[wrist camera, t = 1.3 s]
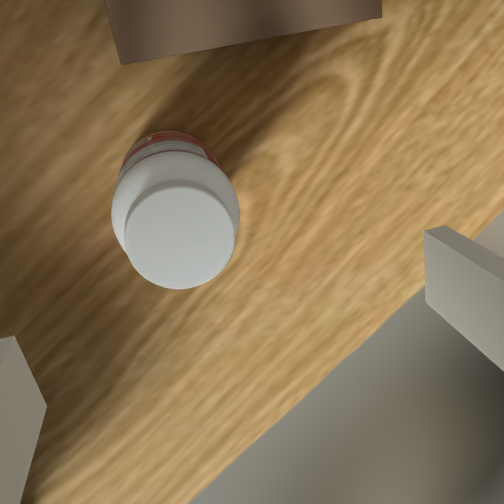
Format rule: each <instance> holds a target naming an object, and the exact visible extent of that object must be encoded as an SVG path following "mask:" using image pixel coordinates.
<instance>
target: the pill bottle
mask: <svg viewBox="0 0 504 504" xmlns="http://www.w3.org/2000/svg"><path fill="white" fill-rule="evenodd" d="M111 218H112V225H113V229H114V232H115V235H116V237H117V239H118V241H119V243H120V245H121V247H122V248H123V250H124V251H125V252H126V253H127V255H128V257H129V260H130V262H131V263H132V265H133V266H134V268H135V269H136V270H137V271H138V272H139V274H141V275H142V276H143V277H144V278H146V279H147V280H149V281H150V282H152V283H154V284H156V285H159V286H162V287H165V288H171V289H187V288H192V287H196V286H199V285H202V284H204V283H206V282H208V281H209V280H211V279H212V278H214V277H215V276H216V275H217V274H218V273H220V272H221V270H222V269H223V268H224V267H225V266H226V264H227V262H228V261H229V259H230V257H231V255H232V252H233V249H234V244H235V236H236V234H237V230H238V227H239V219H240V210H239V203H238V199H237V196H236V193H235V190H234V188H233V186H232V184H231V182H230V180H229V179H228V177H227V176H226V174H225V172H224V171H223V169H222V168H221V166H220V165H219V163H218V162H217V160H216V159H215V157H214V156H213V154H212V153H211V151H210V150H209V149H208V148H207V147H206V146H205V145H204V144H203V143H202V142H201V141H199V140H198V139H196V138H195V137H193V136H191V135H188V134H186V133H182V132H178V131H161V132H156V133H153V134H150V135H148V136H146V137H144V138H142V139H141V140H139V141H138V142H137V143H136V144H135V145H134V146H133V147H132V148H131V149H130V150H129V152H128V153H127V155H126V156H125V158H124V161H123V163H122V166H121V169H120V173H119V177H118V180H117V184H116V188H115V192H114V196H113V202H112V213H111Z"/></svg>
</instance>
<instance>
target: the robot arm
mask: <svg viewBox="0 0 504 504" xmlns="http://www.w3.org/2000/svg"><path fill="white" fill-rule="evenodd" d="M424 255H425V292H426V303H427V304H428V305H429V306H430V307H432V308H433V309H434V310H435V311H436V312H437V313H438V314H440V315H441V316H442V317H443V318H444V319H445V320H446V321H447V322H449V323H450V324H451V325H452V326H453V327H454V328H455V329H457V330H458V331H459V332H460V333H461V334H462V335H463V336H465V338H467V339H468V340H469V341H470V342H471V343H472V344H473V345H475V346H476V347H477V348H478V349H479V350H480V351H481V352H482V353H484V354H485V355H486V356H487V357H488V358H489V359H490V360H491V361H493V362H494V363H495V364H496V365H497V366H498V367H499V368H501V369H502V370H503V371H504V258H502V257H500V256H498V255H496V254H495V253H493V252H491V251H490V250H488V249H486V248H484V247H482V246H481V245H479V244H477V243H475V242H474V241H472V240H470V239H468V238H467V237H465V236H463V235H461V234H460V233H458V232H456V231H454V230H453V229H451V228H449V227H447V226H446V225H445V226H441V227H437V228H433V229H429V230H425V231H424ZM46 409H47V405H46V403H45V401H44V398H43V396H42V394H41V392H40V390H39V388H38V385H37V383H36V381H35V379H34V377H33V375H32V373H31V370H30V368H29V366H28V364H27V362H26V360H25V357H24V355H23V353H22V351H21V349H20V347H19V344H18V342H17V340H16V338H15V336H10V337H6V338H2V339H0V504H20V501H21V498H22V494H23V491H24V487H25V484H26V480H27V476H28V473H29V469H30V466H31V462H32V459H33V455H34V451H35V448H36V444H37V441H38V437H39V434H40V430H41V427H42V423H43V419H44V416H45V412H46Z"/></svg>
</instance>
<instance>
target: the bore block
mask: <svg viewBox="0 0 504 504" xmlns="http://www.w3.org/2000/svg"><path fill="white" fill-rule="evenodd" d="M104 2H105V5H106V9H107V13H108V17H109V21H110V25H111V28H112V32H113V36H114V40H115V44H116V48H117V51H118V55H119V59H120V63H121V65H125V64H131V63H136V62H142V61H147V60H153V59H158V58H164V57H169V56H174V55H180V54H185V53H191V52H196V51H202V50H207V49H213V48H218V47H224V46H229V45H235V44H240V43H245V42H251V41H256V40H262V39H267V38H273V37H278V36H284V35H289V34H295V33H300V32H306V31H311V30H316V29H322V28H327V27H333V26H338V25H344V24H349V23H355V22H360V21H366V20H371V19H377V18H382V0H104Z"/></svg>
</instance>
